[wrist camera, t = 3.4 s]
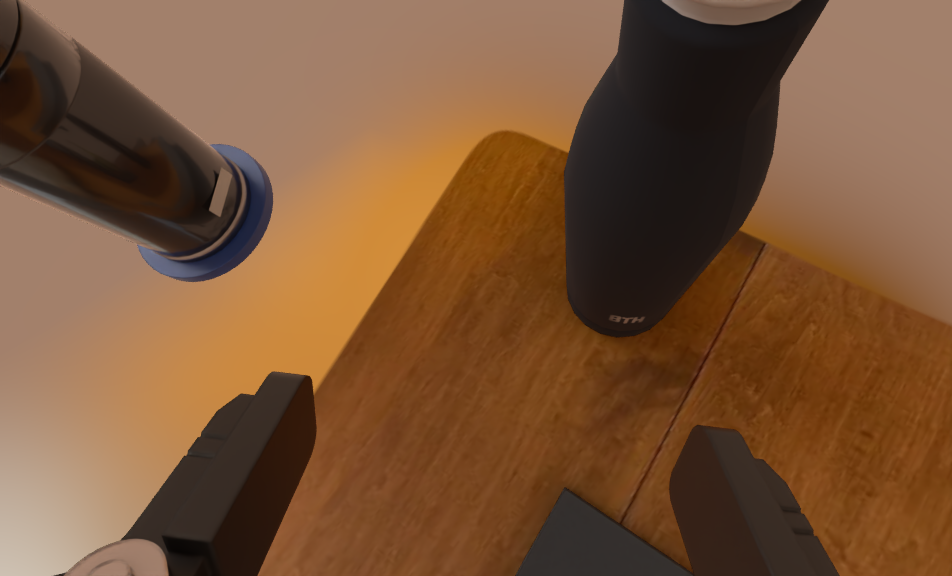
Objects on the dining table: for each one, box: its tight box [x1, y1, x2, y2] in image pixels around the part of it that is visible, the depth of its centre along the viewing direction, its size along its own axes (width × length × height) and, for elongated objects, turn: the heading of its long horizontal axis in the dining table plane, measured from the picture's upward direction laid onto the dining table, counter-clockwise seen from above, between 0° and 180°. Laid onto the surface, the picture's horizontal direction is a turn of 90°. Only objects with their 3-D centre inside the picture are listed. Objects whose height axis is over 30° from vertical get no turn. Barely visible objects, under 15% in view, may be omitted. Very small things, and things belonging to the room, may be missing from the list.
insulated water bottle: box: [564, 0, 829, 337], centre depth 16 cm, size 6×6×30 cm
